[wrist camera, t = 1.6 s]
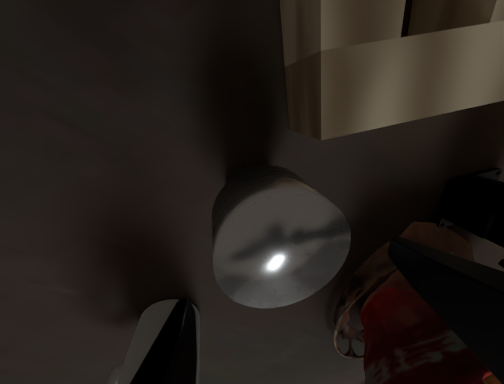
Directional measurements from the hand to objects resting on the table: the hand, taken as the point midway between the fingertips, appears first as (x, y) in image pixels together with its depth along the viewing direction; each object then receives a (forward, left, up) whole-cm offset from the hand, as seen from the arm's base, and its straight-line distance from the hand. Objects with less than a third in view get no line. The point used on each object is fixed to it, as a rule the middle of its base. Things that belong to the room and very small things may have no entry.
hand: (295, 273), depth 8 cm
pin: (0, 0, -10) cm, 10 cm away
